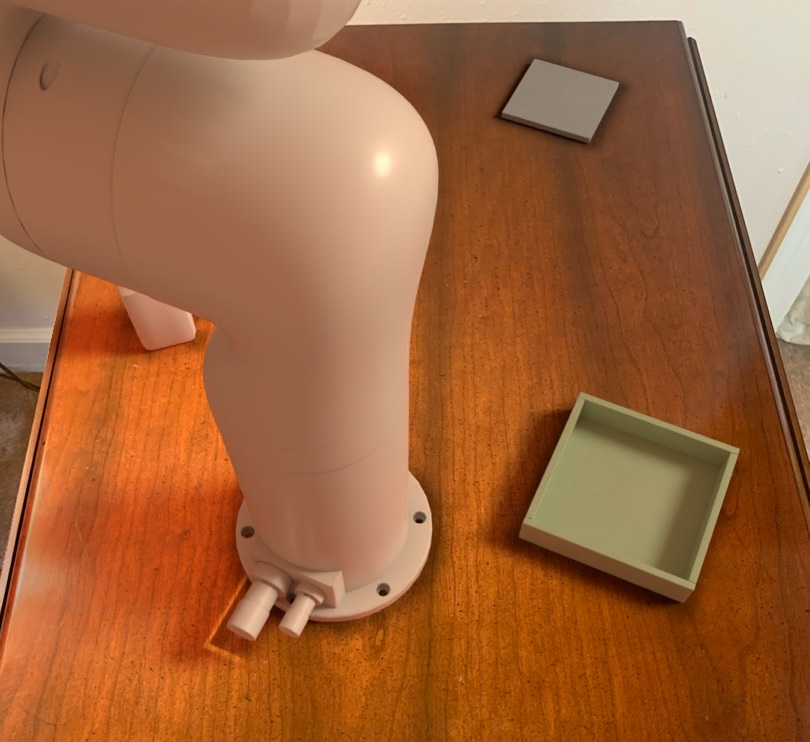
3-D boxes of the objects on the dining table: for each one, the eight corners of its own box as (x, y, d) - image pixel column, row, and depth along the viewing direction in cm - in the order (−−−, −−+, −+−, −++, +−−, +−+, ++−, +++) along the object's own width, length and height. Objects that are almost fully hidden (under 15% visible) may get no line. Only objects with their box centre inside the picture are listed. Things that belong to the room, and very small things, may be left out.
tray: (681, 605, 51) (693, 590, 49) (517, 539, 53) (522, 522, 51) (727, 467, 55) (740, 448, 53) (573, 411, 57) (580, 391, 55)
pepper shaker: (199, 342, 60) (165, 244, 52) (145, 355, 60) (101, 258, 51) (188, 302, 62) (153, 200, 53) (136, 314, 61) (92, 214, 53)
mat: (588, 143, 69) (589, 138, 69) (501, 117, 71) (501, 112, 70) (618, 87, 73) (619, 82, 72) (533, 63, 74) (534, 58, 74)
